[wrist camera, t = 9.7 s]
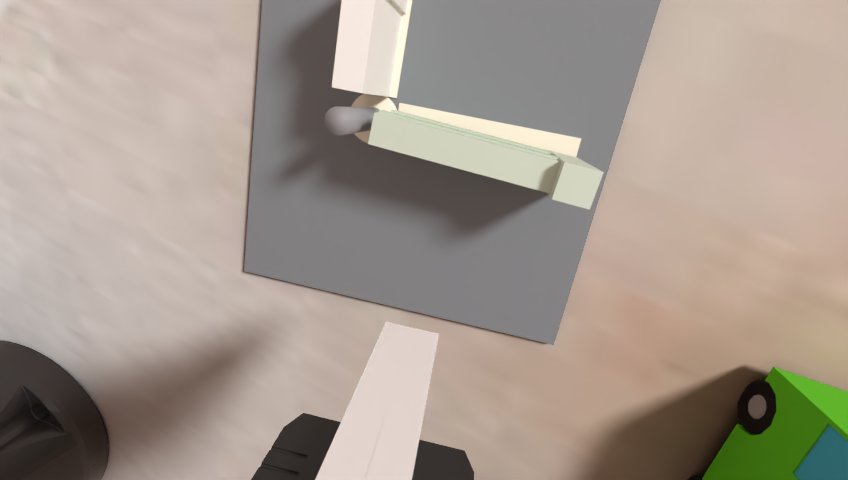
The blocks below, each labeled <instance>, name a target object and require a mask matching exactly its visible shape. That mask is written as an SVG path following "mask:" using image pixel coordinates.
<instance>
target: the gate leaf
mask: <svg viewBox="0 0 848 480" xmlns="http://www.w3.org/2000/svg"><path fill="white" fill-rule="evenodd" d="M368 144H370V145H373V146H377V147H381V148H384V149H388V150H392V151H395V152H399V153H403V154H406V155H410V156H414V157H417V158H421V159H425V160H428V161H432V162H436V163H440V164H443V165H447V166H451V167H454V168H458V169H462V170H465V171H469V172H473V173H476V174H480V175H484V176H487V177H491V178H495V179H498V180H502V181H506V182H509V183H513V184H517V185H520V186H524V187H528V188H531V189H535V190H539V191H542V192H546V193H548V194H549V196H550V197H551V199H552V200H556V201H560V202H563V203H567V204H571V205H574V206H578V207H582V208H585V209H589V210H590V208H591V205H592V202H593V200H594V197H595V194H596V192H597V189H598V186H599V184H600V181H601V178H602V176H603V173H604V172H602V171H601V170H599V169H597V168H595V167H593V166H592V165H590V164H588V163H586V162H584V161H583V160H581V159H579V158H577V157H573V156H569V155H566V154H562V153H558V152H554V151H551V150H548V151H547V150H543V149H539V148H536V147H532V146H528V145H524V144H520V143H517V142H513V141H509V140H505V139H502V138H498V137H494V136H490V135H487V134H483V133H479V132H475V131H471V130H468V129H464V128H460V127H456V126H453V125H449V124H445V123H441V122H438V121H434V120H430V119H426V118H423V117H419V116H415V115H411V114H407V113H404V112H400V111H396V110H391V112H388V111H385V110H379V112H374V117H373V122H372V126H371V131H370V136H369V141H368Z"/></svg>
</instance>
